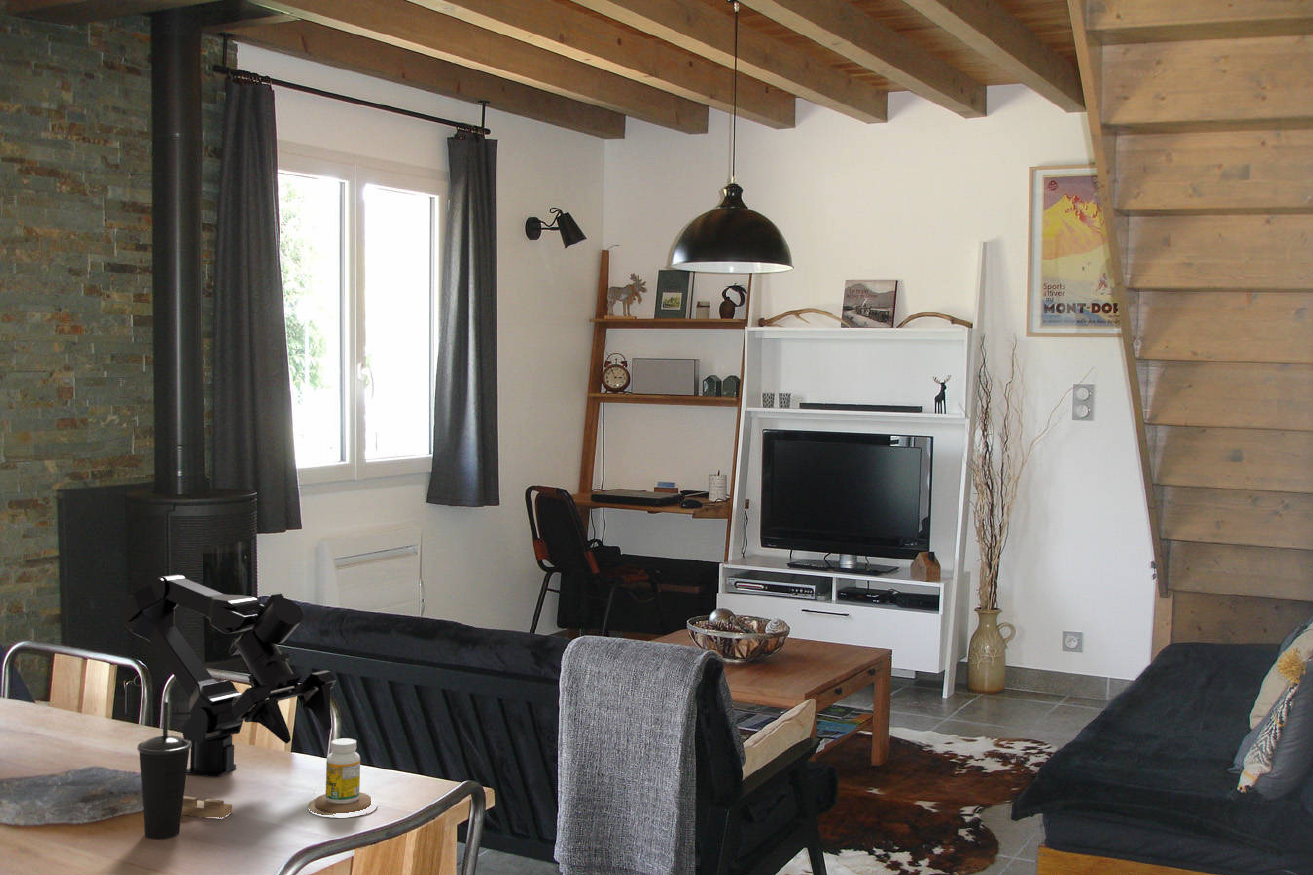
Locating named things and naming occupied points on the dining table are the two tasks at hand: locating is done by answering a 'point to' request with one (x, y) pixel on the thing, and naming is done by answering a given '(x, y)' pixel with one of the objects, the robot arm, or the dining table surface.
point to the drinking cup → (163, 781)
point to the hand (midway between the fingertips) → (309, 735)
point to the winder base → (338, 805)
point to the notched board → (205, 807)
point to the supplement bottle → (343, 772)
